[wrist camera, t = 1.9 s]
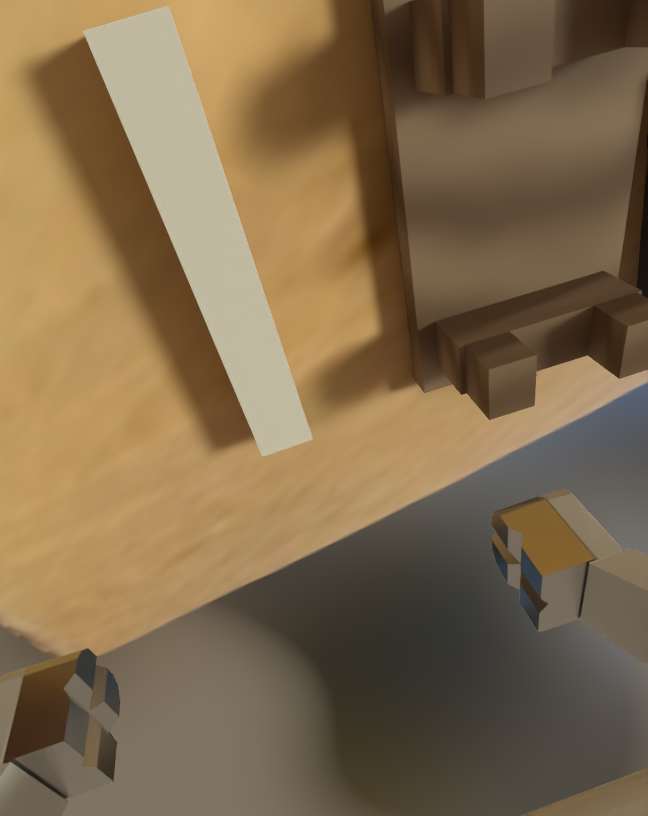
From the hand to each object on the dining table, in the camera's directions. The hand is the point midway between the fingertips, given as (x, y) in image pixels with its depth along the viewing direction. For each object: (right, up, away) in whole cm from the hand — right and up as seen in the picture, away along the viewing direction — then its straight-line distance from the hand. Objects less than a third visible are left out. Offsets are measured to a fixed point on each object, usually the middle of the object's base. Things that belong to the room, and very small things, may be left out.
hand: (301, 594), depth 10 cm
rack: (+10, +15, +16) cm, 24 cm away
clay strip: (-5, +11, +16) cm, 20 cm away
